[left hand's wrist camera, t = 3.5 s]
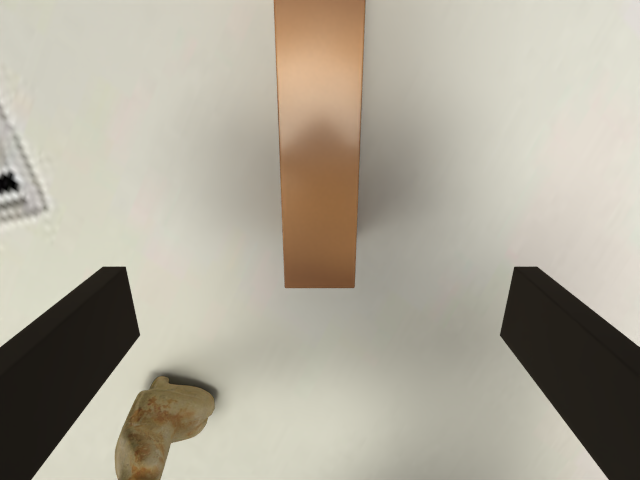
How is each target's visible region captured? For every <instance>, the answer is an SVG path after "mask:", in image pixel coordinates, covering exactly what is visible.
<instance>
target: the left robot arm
mask: <svg viewBox="0 0 640 480" xmlns="http://www.w3.org/2000/svg"><path fill="white" fill-rule="evenodd" d="M139 336H140V333H139V328H138V323H137V318H136V314H135V309H134V304H133V299H132V295H131V290H130V285H129V280H128V276H127V271H126V267H102V268H101V269H99V270H98V271H97V272H96V273H94V274H93V275H92V276H91V277H89V278H88V279H87V280H85V281H84V282H83V283H82V284H80V285H79V286H78V287H76V288H75V289H74V290H73V291H71V292H70V293H69V294H68V295H66V296H65V297H64V298H62V299H61V300H60V301H59V302H57V303H56V304H55V305H54V306H52V307H51V308H50V309H48V310H47V311H46V312H45V313H43V314H42V315H41V316H40V317H38V318H37V319H36V320H34V321H33V322H32V323H31V324H29V325H28V326H27V327H26V328H24V329H23V330H22V331H20V332H19V333H18V334H17V335H15V336H14V337H13V338H12V339H10V340H9V341H8V342H6V343H5V344H4V345H3V346H1V347H0V480H31V479H32V478H33V477H34V475H35V474H36V473H37V471H38V470H39V469H40V467H41V466H42V465H43V463H44V462H45V461H46V459H47V458H48V457H49V455H50V454H51V453H52V451H53V450H54V449H55V447H56V446H57V445H58V443H59V442H60V441H61V439H62V438H63V437H64V435H65V434H66V433H67V431H68V430H69V429H70V428H71V426H72V425H73V424H74V422H75V421H76V420H77V418H78V417H79V416H80V414H81V413H82V412H83V410H84V409H85V408H86V406H87V405H88V404H89V402H90V401H91V400H92V398H93V397H94V396H95V394H96V393H97V392H98V390H99V389H100V388H101V386H102V385H103V384H104V382H105V381H106V380H107V378H108V377H109V376H110V374H111V373H112V372H113V370H114V369H115V368H116V366H117V365H118V364H119V362H120V361H121V360H122V359H123V357H124V356H125V355H126V353H127V352H128V351H129V349H130V348H131V347H132V345H133V344H134V343H135V341H136V340H137V339H138V337H139ZM500 336H501V337H502V339H503V340H504V341H505V343H506V344H507V345H508V347H509V348H510V349H511V351H512V352H513V353H514V355H515V356H516V357H517V359H518V360H519V361H520V362H521V364H522V365H523V366H524V368H525V369H526V370H527V372H528V373H529V374H530V376H531V377H532V378H533V380H534V381H535V382H536V384H537V385H538V386H539V388H540V389H541V390H542V392H543V393H544V394H545V396H546V397H547V398H548V400H549V401H550V402H551V404H552V405H553V406H554V408H555V409H556V410H557V412H558V413H559V414H560V416H561V417H562V418H563V420H564V421H565V422H566V424H567V425H568V426H569V428H570V429H571V430H572V431H573V433H574V434H575V435H576V437H577V438H578V439H579V441H580V442H581V443H582V445H583V446H584V447H585V449H586V450H587V451H588V453H589V454H590V455H591V457H592V458H593V459H594V461H595V462H596V463H597V465H598V466H599V467H600V469H601V470H602V471H603V473H604V474H605V475H606V477H607V478H608V479H609V480H640V347H639V346H637V345H636V344H635V343H634V342H632V341H631V340H630V339H628V338H627V337H626V336H625V335H623V334H622V333H621V332H620V331H618V330H617V329H616V328H614V327H613V326H612V325H611V324H609V323H608V322H607V321H606V320H604V319H603V318H602V317H600V316H599V315H598V314H597V313H595V312H594V311H593V310H592V309H590V308H589V307H588V306H586V305H585V304H584V303H583V302H581V301H580V300H579V299H578V298H576V297H575V296H574V295H572V294H571V293H570V292H569V291H567V290H566V289H565V288H564V287H562V286H561V285H560V284H558V283H557V282H556V281H555V280H553V279H552V278H551V277H549V276H548V275H547V274H546V273H544V272H543V271H542V270H541V269H539V268H538V267H514V271H513V276H512V280H511V285H510V290H509V295H508V299H507V304H506V309H505V314H504V318H503V323H502V328H501V333H500Z"/></svg>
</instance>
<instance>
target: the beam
mask: <svg viewBox="0 0 640 480" xmlns="http://www.w3.org/2000/svg"><path fill="white" fill-rule="evenodd" d="M274 18H275V44H276V71H277V97H278V123H279V149H280V176H281V202H282V228H283V254H284V280H285V288H354V287H355V264H356V237H357V210H358V184H359V157H360V130H361V104H362V77H363V51H364V24H365V0H274Z"/></svg>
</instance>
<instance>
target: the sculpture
mask: <svg viewBox="0 0 640 480" xmlns="http://www.w3.org/2000/svg"><path fill="white" fill-rule="evenodd" d="M214 407H215V404H214V398H213V397H212V395H211V394H210V393H208V392H207V391H205V390H203V389H201V388H198V387H194V386H188V385H174V384H169V378H167V377H164V376H160V377H157V378H156V379H155V380H154V382H153V383H152V385H151V387H150V389H149V390H144V391H141V392H140V393H139V394H138V395H137V397H136V399H135V401H134V403H133V405H132V408H131V410H130V412H129V414H128V416H127V419H126V421H125V423H124V426H123V428H122V431H121V433H120V436H119V438H118V442H117V445H116V449H115V469H116V475H117V478H118V480H160V479H161V476H162V472H163V469H164V466H165V462H166V459H167V455H168V452H169V448H170V444H171V443H173V442H178V441H182V440H185V439H189V438H192V437H194V436H196V435H197V434H199V433H200V432H201V431H202V430H203V428H204V427H205V425H206V423H207V419H208V417H209V416H210V415H211V414H212V413H213V410H214Z"/></svg>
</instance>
